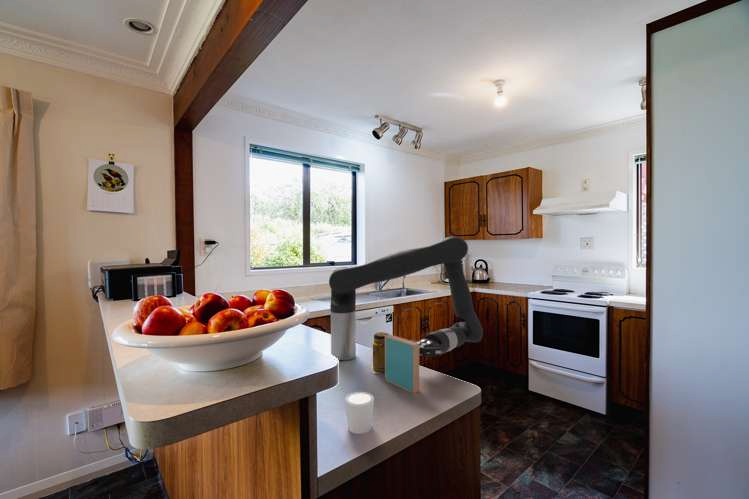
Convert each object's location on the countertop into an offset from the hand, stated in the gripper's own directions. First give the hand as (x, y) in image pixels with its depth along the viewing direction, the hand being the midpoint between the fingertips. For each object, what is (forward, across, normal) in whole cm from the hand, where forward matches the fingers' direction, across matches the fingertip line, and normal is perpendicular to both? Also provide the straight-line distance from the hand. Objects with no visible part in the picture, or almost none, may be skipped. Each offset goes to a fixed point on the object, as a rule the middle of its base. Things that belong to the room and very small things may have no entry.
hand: (407, 353), depth 104 cm
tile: (+2, 0, +9) cm, 9 cm away
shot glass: (+26, +8, +9) cm, 29 cm away
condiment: (-2, -12, +9) cm, 16 cm away
